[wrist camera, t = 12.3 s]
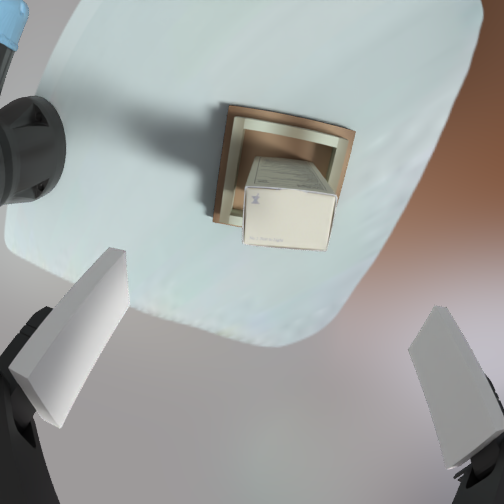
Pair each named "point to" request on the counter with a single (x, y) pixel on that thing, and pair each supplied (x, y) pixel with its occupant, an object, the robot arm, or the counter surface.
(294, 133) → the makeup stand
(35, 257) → the counter surface
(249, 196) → the skincare box
